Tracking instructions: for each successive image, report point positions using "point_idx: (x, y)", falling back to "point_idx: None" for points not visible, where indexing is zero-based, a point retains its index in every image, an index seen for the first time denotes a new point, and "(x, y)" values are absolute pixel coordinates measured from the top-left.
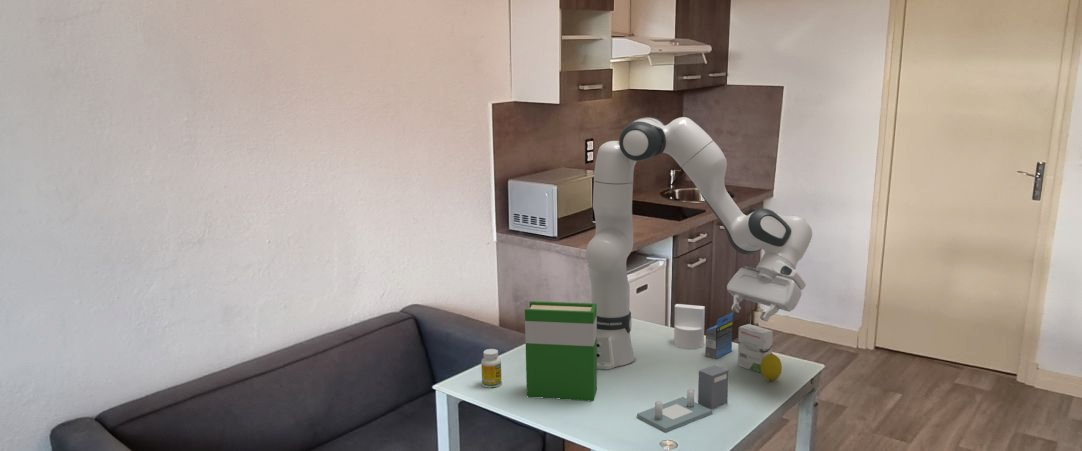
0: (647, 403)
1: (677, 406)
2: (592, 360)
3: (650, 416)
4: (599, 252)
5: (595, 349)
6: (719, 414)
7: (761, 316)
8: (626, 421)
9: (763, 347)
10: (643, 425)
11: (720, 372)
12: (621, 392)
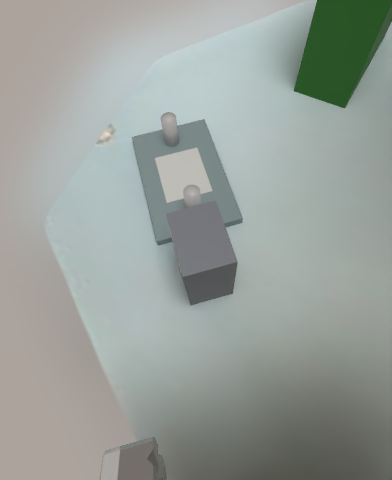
0: (253, 159)
1: (201, 187)
2: (317, 4)
3: (184, 133)
4: None
5: (360, 3)
6: (149, 257)
7: (137, 444)
8: (198, 108)
9: None
10: None
11: (177, 246)
12: (318, 138)
